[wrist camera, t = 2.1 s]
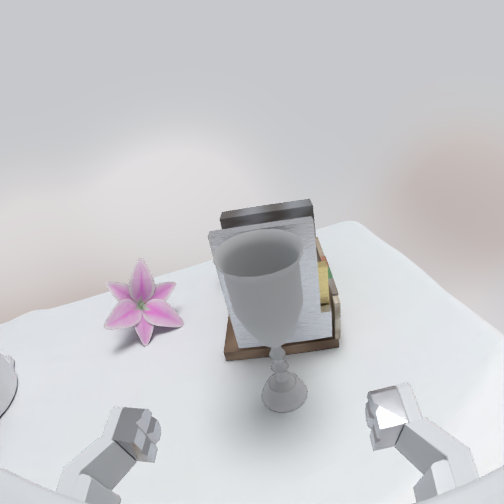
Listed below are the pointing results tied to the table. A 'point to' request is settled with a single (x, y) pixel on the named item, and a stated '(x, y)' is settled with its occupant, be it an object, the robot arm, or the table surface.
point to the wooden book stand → (305, 210)
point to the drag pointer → (323, 283)
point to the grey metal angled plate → (312, 314)
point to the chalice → (267, 301)
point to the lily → (142, 304)
